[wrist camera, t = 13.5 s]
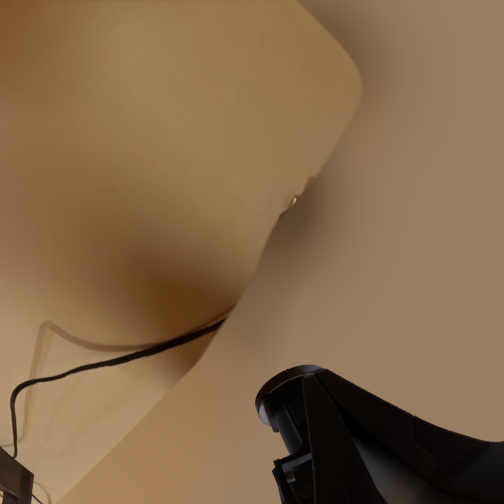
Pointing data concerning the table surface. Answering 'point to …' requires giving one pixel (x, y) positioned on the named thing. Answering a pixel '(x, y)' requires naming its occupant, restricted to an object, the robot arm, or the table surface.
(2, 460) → the backrest rail
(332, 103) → the table surface
